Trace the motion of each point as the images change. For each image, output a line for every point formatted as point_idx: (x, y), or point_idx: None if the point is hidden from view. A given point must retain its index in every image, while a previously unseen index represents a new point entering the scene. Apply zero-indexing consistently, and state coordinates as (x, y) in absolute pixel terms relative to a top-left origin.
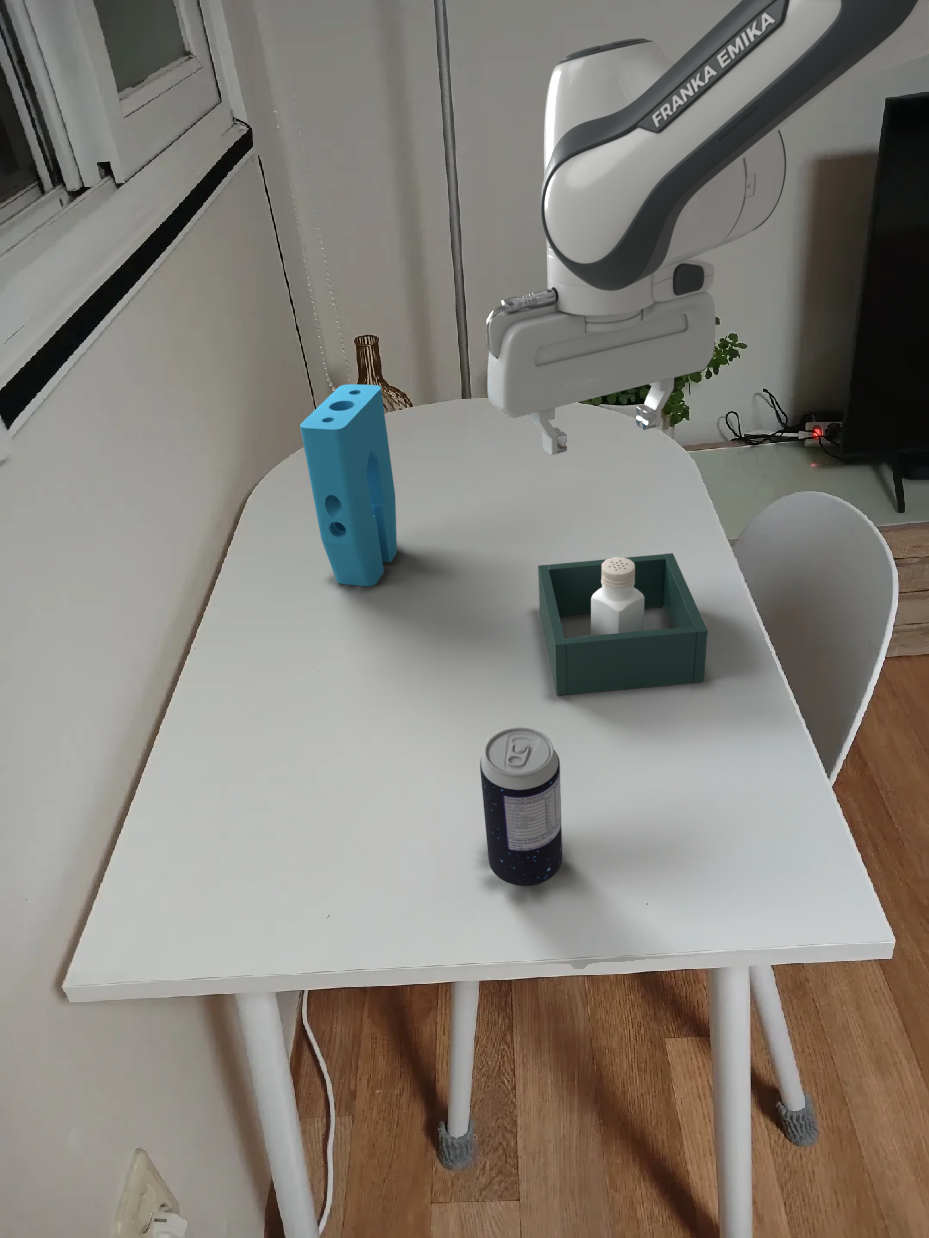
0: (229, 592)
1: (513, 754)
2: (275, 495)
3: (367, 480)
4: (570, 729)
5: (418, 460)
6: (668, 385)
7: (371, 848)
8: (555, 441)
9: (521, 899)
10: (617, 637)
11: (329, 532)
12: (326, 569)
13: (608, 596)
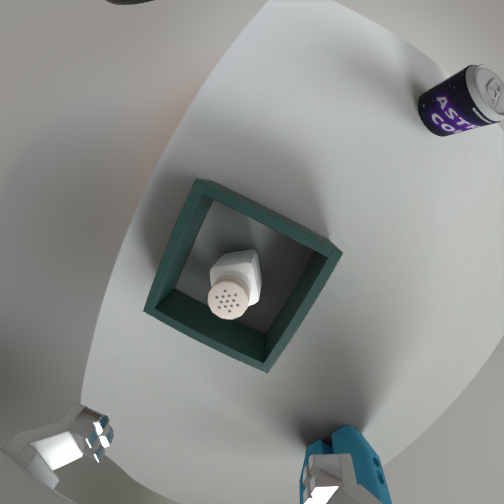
0: (408, 443)
1: (496, 90)
2: None
3: None
4: (346, 197)
5: (230, 492)
6: (19, 446)
7: (487, 190)
8: (346, 477)
9: None
10: (282, 224)
11: (378, 461)
12: None
13: (249, 284)
